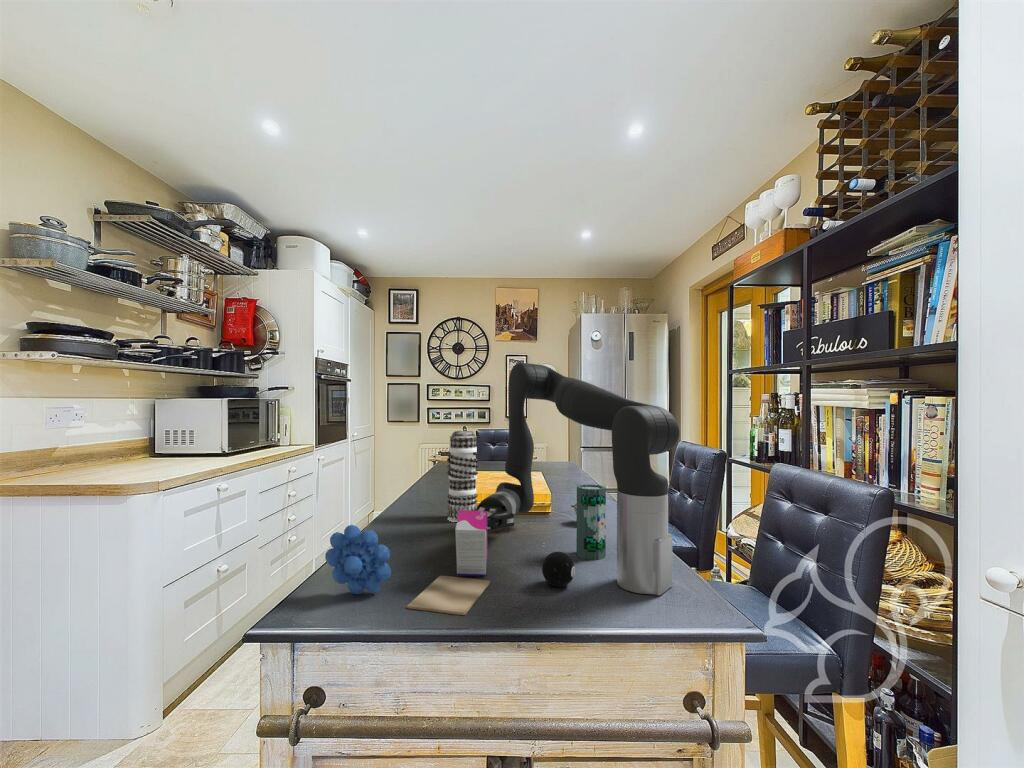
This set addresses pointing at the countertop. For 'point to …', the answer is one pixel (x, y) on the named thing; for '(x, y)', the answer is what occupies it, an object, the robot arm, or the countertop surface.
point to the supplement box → (471, 543)
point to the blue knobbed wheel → (358, 560)
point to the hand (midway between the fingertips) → (473, 527)
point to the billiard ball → (558, 569)
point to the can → (591, 522)
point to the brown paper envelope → (449, 595)
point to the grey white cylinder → (462, 473)
